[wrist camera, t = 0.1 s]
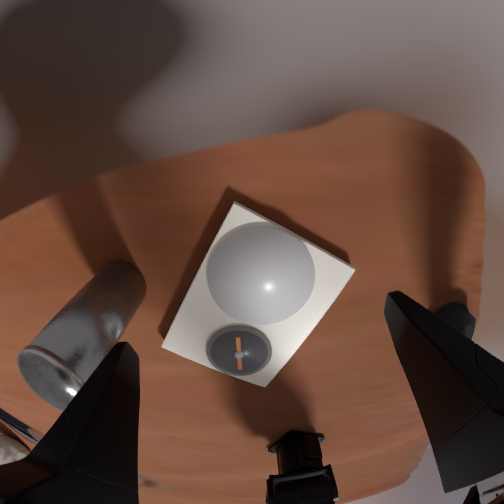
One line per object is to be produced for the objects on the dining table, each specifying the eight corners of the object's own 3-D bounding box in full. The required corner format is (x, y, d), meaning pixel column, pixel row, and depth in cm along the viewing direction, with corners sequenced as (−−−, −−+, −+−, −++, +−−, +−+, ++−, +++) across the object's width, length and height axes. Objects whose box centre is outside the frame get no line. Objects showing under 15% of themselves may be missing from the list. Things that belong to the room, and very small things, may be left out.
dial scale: (264, 380, 30) (265, 391, 28) (164, 339, 27) (160, 350, 26) (350, 264, 25) (357, 272, 23) (234, 200, 23) (233, 204, 21)
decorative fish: (29, 442, 41) (11, 480, 27) (48, 468, 47) (35, 501, 33) (-11, 415, 39) (-31, 448, 25) (10, 445, 45) (-5, 475, 31)
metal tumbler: (138, 316, 26) (82, 423, 13) (95, 292, 25) (20, 384, 12) (154, 275, 25) (88, 384, 12) (107, 250, 24) (14, 335, 11)
